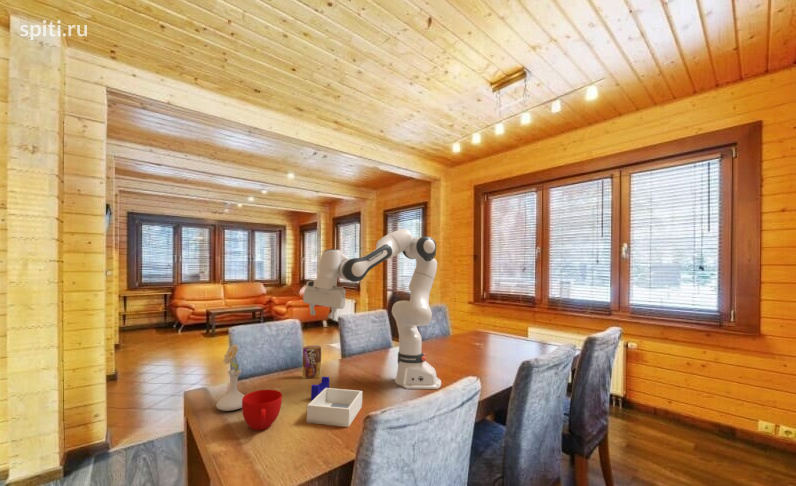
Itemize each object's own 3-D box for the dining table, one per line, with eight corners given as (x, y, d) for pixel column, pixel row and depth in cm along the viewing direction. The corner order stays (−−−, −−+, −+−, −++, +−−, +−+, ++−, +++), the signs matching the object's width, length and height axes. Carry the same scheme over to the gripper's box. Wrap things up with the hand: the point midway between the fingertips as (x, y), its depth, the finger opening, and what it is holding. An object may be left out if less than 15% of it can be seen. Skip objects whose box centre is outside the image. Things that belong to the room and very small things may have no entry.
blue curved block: (319, 389, 151) (320, 376, 152) (328, 390, 150) (329, 377, 151) (307, 400, 140) (308, 385, 140) (317, 401, 139) (318, 386, 139)
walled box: (361, 406, 134) (362, 390, 135) (348, 426, 117) (349, 409, 118) (325, 402, 137) (325, 387, 137) (306, 422, 120) (307, 405, 120)
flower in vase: (217, 403, 133) (221, 340, 135) (248, 399, 138) (252, 338, 140) (213, 417, 121) (218, 347, 123) (248, 413, 126) (251, 345, 128)
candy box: (320, 375, 170) (322, 344, 171) (320, 378, 166) (321, 346, 167) (302, 375, 169) (304, 345, 170) (301, 378, 165) (303, 347, 166)
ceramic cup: (239, 444, 104) (241, 411, 105) (241, 420, 120) (242, 392, 120) (283, 436, 109) (284, 405, 110) (279, 415, 125) (280, 387, 126)
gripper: (350, 288, 146) (345, 320, 144) (312, 282, 155) (307, 313, 153) (342, 287, 141) (337, 320, 139) (303, 281, 149) (298, 313, 147)
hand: (321, 316), depth 146 cm, fingers open, 8 cm apart
